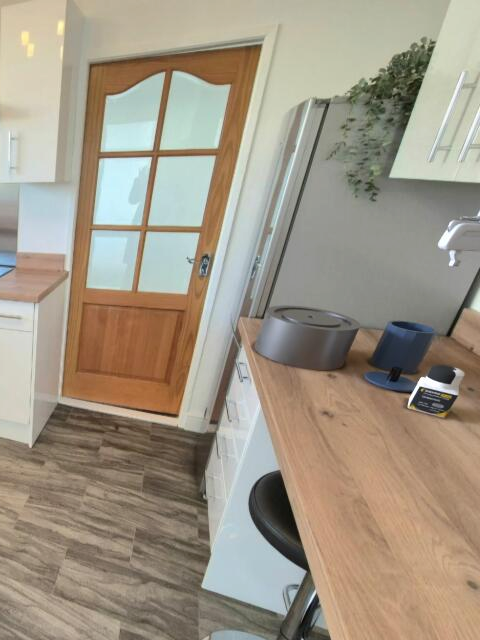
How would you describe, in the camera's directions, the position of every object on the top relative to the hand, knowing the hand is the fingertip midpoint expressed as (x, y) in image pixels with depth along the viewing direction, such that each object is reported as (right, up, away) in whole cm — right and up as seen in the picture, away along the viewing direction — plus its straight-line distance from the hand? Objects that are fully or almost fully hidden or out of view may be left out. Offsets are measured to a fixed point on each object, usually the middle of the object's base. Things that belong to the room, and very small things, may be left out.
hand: (472, 267), depth 126 cm
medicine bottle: (-26, -41, -12) cm, 50 cm away
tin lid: (-23, -34, +1) cm, 41 cm away
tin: (-12, -29, +12) cm, 33 cm away
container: (-36, -25, +20) cm, 48 cm away
